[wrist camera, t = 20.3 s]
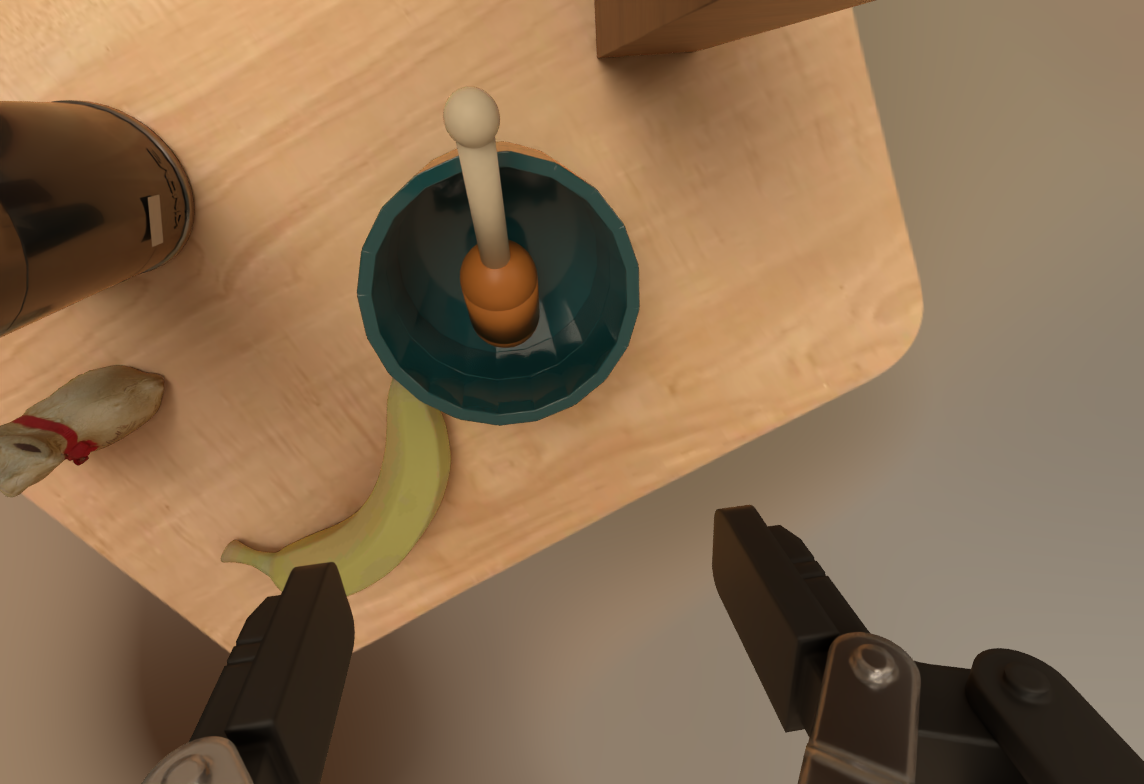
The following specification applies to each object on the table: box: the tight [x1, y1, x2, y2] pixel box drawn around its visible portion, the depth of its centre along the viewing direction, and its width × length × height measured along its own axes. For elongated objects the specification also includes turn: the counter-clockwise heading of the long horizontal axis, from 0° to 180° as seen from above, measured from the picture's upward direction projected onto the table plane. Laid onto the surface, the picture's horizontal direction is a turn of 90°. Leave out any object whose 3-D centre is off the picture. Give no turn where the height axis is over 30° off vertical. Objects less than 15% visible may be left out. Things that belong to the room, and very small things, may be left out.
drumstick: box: [443, 87, 540, 348], centre depth 31 cm, size 4×19×4 cm
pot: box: [357, 141, 640, 426], centre depth 34 cm, size 14×14×10 cm
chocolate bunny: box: [0, 366, 164, 497], centre depth 35 cm, size 6×8×10 cm
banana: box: [221, 378, 451, 596], centre depth 43 cm, size 14×6×20 cm
